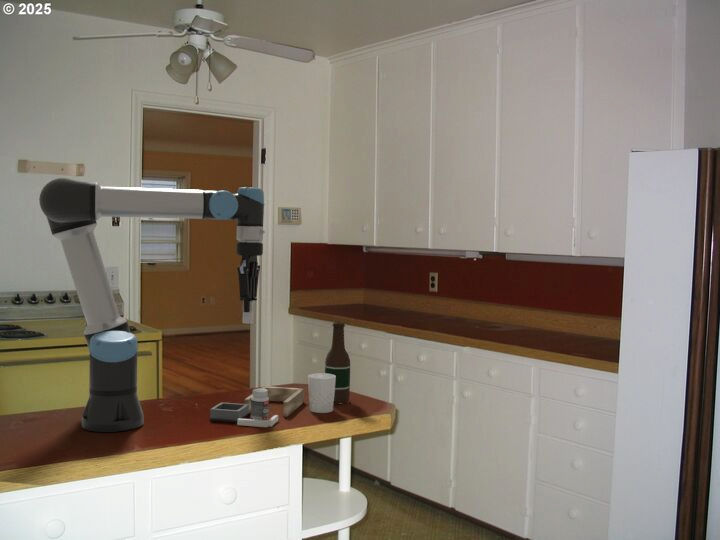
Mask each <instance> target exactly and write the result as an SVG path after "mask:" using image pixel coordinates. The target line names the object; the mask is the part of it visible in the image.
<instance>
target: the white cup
mask: <svg viewBox="0 0 720 540" xmlns="http://www.w3.org/2000/svg"><path fill="white" fill-rule="evenodd" d="M307 378H308V379H307V380H308V381H307V382H308V383H307V385H308V401H309V411H310V412H311V413H315V414H316V413H317V414H328V413H331V412H333V411H334V404H333V402H334V394H335V381H336V376H335V375H333V374H327V373H325V372H323V373H322V372H320V373H319V372H316V373H311V374H309V375H307Z"/></svg>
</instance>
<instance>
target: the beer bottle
mask: <svg viewBox="0 0 720 540" xmlns="http://www.w3.org/2000/svg"><path fill="white" fill-rule="evenodd" d="M332 327H333V328H332V338H331V339H332V340H331V348H330V349H329V351H328V352H327V353H326V357H325V361H324V362H325V363H324V373H327V374H333V375H335V376H336V381H335V394H334V402H333V405H340V404H339V403H345V404H347V403H346V402H348V401H349V402H350V395H351V394H350V389H351V388H350V387H351V384H350V383H351V359H350V355H349V354H348V352H347V351H346V345H345V327H346V325H345V323H344V322H343V321H335V322H334V321H333V323H332ZM349 402H348V403H349Z"/></svg>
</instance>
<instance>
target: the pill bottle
mask: <svg viewBox="0 0 720 540" xmlns="http://www.w3.org/2000/svg"><path fill="white" fill-rule="evenodd" d="M252 394H253V397H252V398H251V412H250V419H253V420H266V421H268V420H269V413H270V411H269V409H270V407H269V406H270V401H269V398H268V397H267V396H268V390H267V389H261V388H254V389H252Z"/></svg>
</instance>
